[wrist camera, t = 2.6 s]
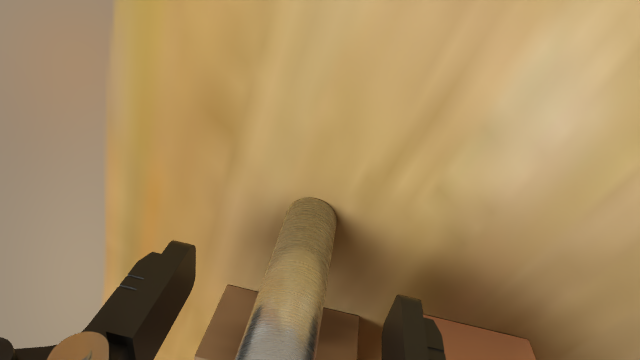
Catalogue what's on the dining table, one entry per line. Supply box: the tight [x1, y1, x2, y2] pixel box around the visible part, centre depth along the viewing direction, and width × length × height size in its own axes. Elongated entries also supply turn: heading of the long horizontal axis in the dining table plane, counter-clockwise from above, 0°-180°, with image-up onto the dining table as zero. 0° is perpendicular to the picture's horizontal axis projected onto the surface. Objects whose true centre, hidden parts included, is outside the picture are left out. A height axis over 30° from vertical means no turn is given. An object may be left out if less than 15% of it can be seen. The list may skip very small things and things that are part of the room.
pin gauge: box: [235, 198, 337, 360], centre depth 12 cm, size 2×2×10 cm
